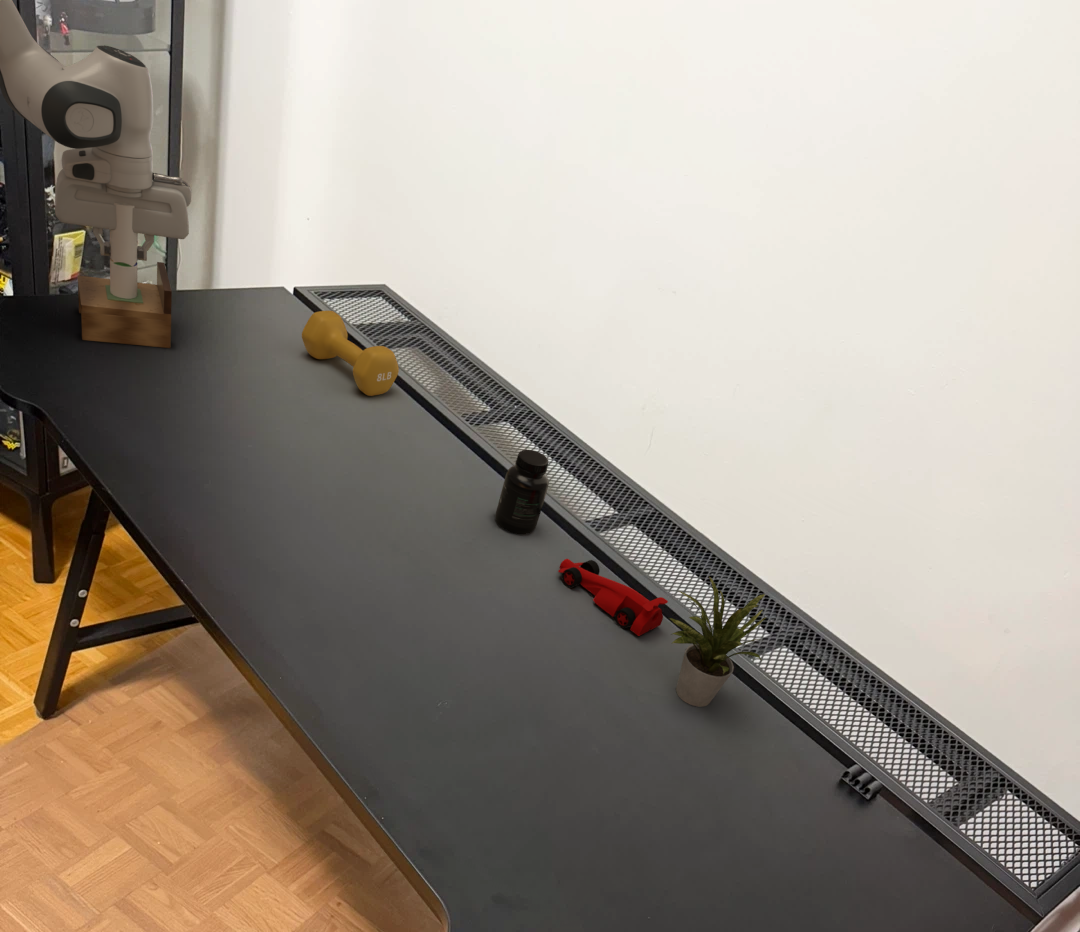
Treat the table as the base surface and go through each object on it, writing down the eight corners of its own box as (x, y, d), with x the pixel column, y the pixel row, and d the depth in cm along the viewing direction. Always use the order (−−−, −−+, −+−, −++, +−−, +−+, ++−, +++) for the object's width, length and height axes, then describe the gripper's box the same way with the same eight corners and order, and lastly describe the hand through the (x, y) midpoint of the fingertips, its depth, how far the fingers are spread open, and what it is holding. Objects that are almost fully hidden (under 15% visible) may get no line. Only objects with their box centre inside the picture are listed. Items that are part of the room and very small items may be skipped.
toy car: (574, 564, 159) (583, 537, 155) (660, 627, 152) (671, 600, 149) (549, 574, 155) (558, 547, 151) (636, 639, 148) (647, 612, 145)
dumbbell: (399, 394, 186) (406, 351, 181) (361, 401, 180) (367, 357, 175) (333, 348, 194) (339, 305, 188) (295, 353, 187) (299, 310, 182)
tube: (104, 289, 172) (103, 196, 163) (125, 286, 175) (125, 194, 166) (122, 300, 171) (121, 207, 162) (142, 296, 174) (143, 205, 165)
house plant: (679, 644, 150) (719, 552, 139) (757, 695, 145) (805, 604, 135) (628, 681, 140) (668, 585, 129) (711, 737, 136) (759, 642, 125)
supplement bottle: (494, 508, 165) (511, 442, 157) (534, 517, 166) (554, 451, 159) (494, 530, 160) (512, 463, 152) (536, 539, 161) (556, 473, 153)
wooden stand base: (82, 340, 171) (80, 280, 164) (78, 309, 178) (76, 251, 172) (170, 348, 176) (171, 291, 170) (163, 318, 184) (164, 262, 178)
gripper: (189, 172, 167) (186, 258, 176) (51, 149, 158) (56, 240, 167) (194, 186, 163) (191, 272, 172) (53, 163, 154) (57, 255, 163)
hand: (123, 256), depth 169 cm, fingers closed on tube, 4 cm apart
